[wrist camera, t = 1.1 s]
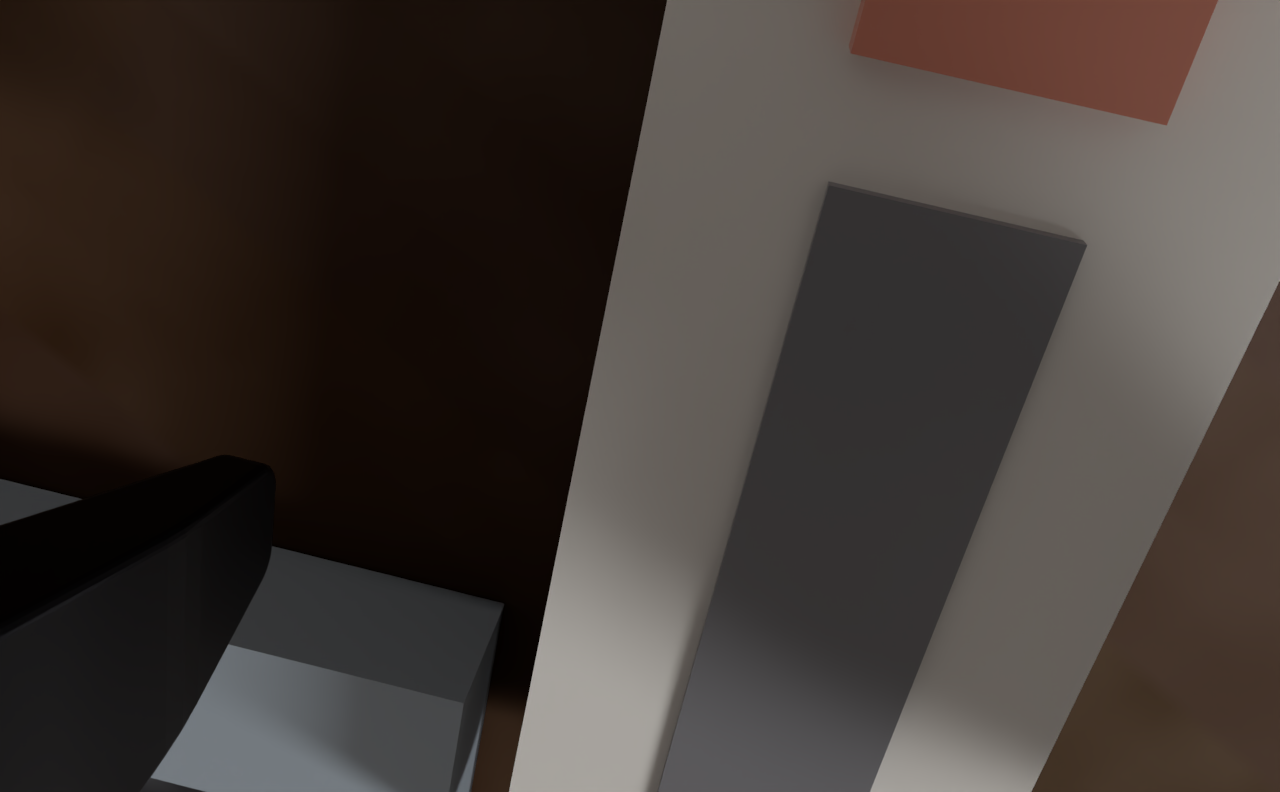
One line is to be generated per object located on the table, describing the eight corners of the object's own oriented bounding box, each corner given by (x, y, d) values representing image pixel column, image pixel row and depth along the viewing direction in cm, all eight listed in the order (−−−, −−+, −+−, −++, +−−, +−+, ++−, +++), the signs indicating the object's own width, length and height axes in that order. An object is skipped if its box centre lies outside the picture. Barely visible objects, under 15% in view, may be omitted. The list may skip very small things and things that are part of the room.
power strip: (819, 826, 16) (827, 1245, 11) (547, 757, 16) (435, 1142, 11) (1199, -183, 10) (1568, -237, 5) (772, -276, 10) (744, -414, 5)
